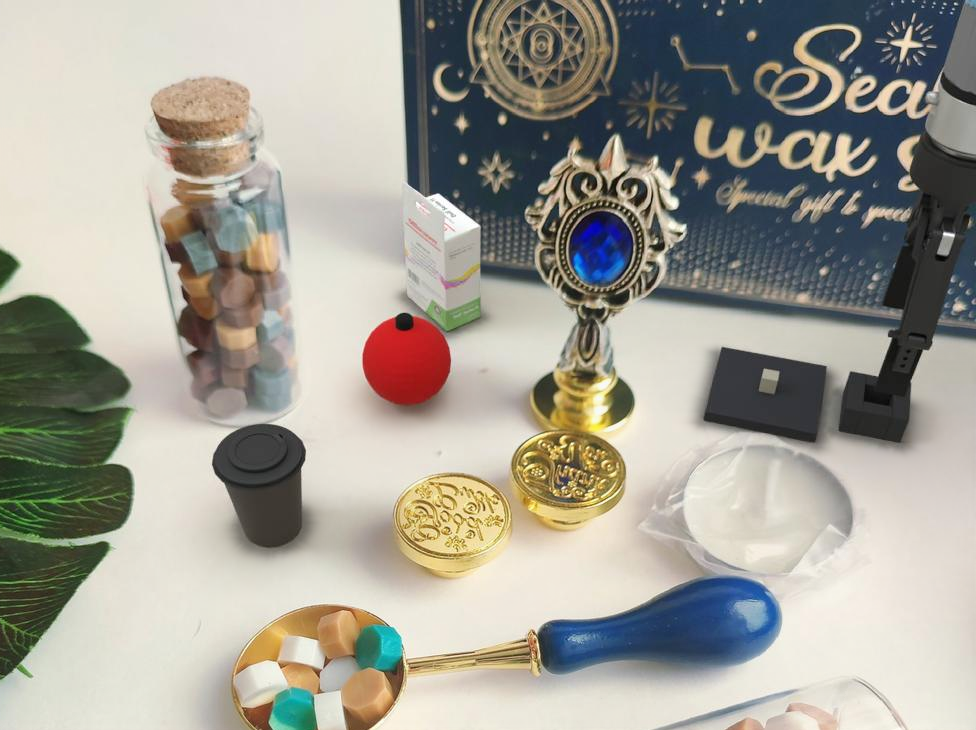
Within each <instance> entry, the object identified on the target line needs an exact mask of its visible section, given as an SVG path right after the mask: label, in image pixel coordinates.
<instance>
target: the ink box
mask: <svg viewBox="0 0 976 730" xmlns="http://www.w3.org/2000/svg"><path fill="white" fill-rule="evenodd" d="M401 190H402V191H401V193H402V195H401V196H402V217H403V218H402V220H403V222H402V223H403V238H404V254H405V256H404V258H405V275H406V292H407V297H408V298H409V299H410V300H411V301H412V302H413V303H415V305H417V306H418V307H419V308H420V309H421V310H422V311H424V312H425V314H426V315H428V316H429V317H430V318H431V319H432V320H433V321H435V323H437V324H438V325H439V326H440V327H441V329H443V330H445V331H446V332H450V331H451V330H454V329H456V328H458V327H461V326H463V325H466V324H467V323H469V322H472V321H474V320H476V319H479V318H481V315H482V314H481V225H480V224H479V223H478V222H476V221H475V220H473V219H472V218H471V217H469V216H468V215H467V214H466V213H464V212H463V211H462V210H460V209H459V208H458V207H457V206H455V205H454V203H453V204H452V202H450V201H449V200H448V199H446V198H445V197H443V195H441V194H440V193H435V194H431V195H429V196H426V197H425V196H424V195H423V194H421V193H420V192H419V191H418V190H416V189H414V187H412V186H411V185H409V184H408V183H407V182H406V181H402V185H401Z"/></svg>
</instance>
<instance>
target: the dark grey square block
mask: <svg viewBox="0 0 976 730" xmlns="http://www.w3.org/2000/svg"><path fill="white" fill-rule="evenodd" d="M877 378H878V375H874V374H867V373H863V372H858V371H853V370H852V371H851V370H850V371H849V374H848V377H847V380H846V382H845V386H844V388H843V392H842V398H841V406H840V414H839V422H838V432H844V433H849V434H854V435H859V436H864V437H869V438H875V439H879V440H884V441H890V442H894V443H901V442H902V440H903V437H904V435H905V432H906V429H907V428H908V424H909V422H910V413H911V412H910V411H911V398H912V397H911V396H912V381H911V382H910V385H909V387H908V390H907V392H906V395H905V397H901V396H896V395H891V394H886V393H881V392H876V391H874V386H875V383H876V380H877Z"/></svg>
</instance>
